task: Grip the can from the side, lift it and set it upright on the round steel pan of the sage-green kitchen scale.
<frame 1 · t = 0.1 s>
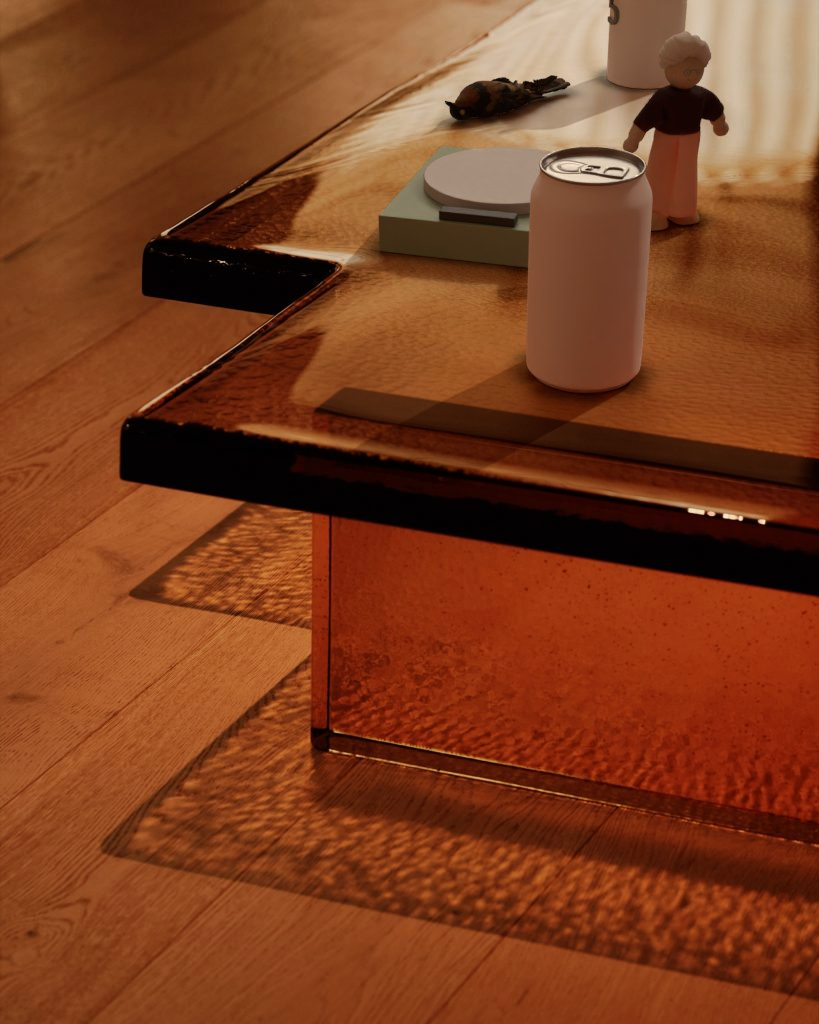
scale: (502, 222, 109), on the table
grandmother figurine: (672, 222, 109), on the table
can: (582, 372, 90), on the table
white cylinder: (642, 79, 137), on the table
bird model: (507, 110, 130), on the table
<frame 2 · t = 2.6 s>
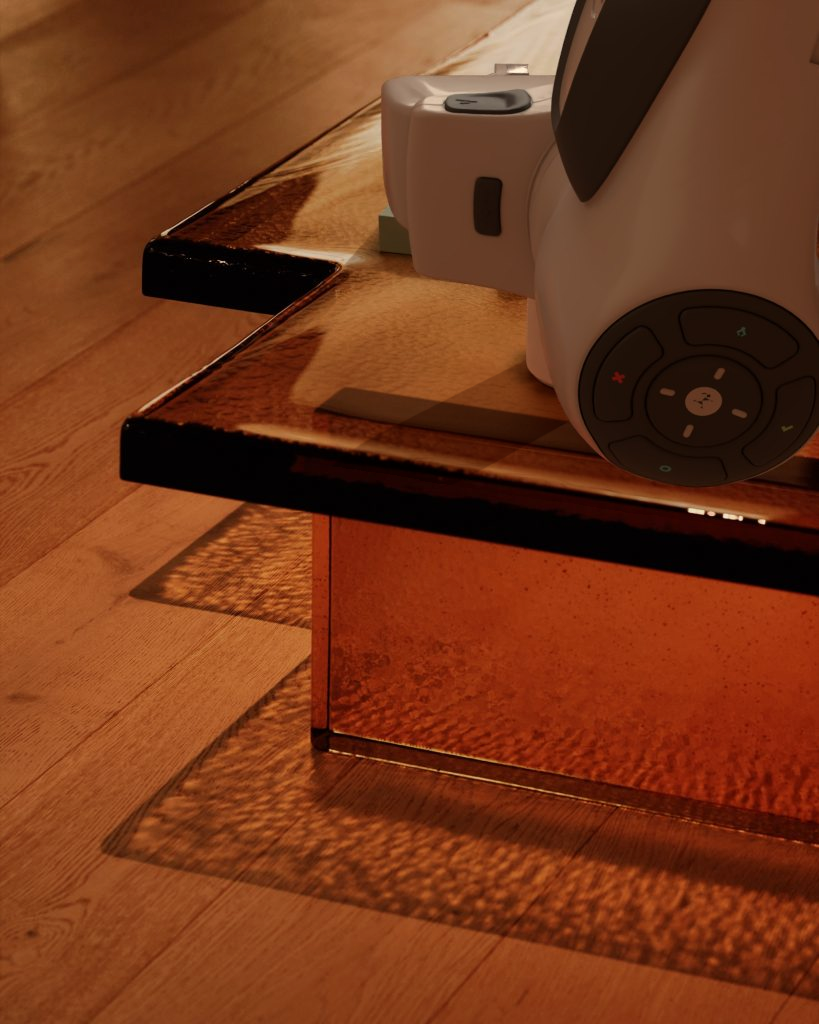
hand: (619, 81, 69), 20 cm above the table, tool horizontal, fingers open, 8 cm apart
nothing on the table moved.
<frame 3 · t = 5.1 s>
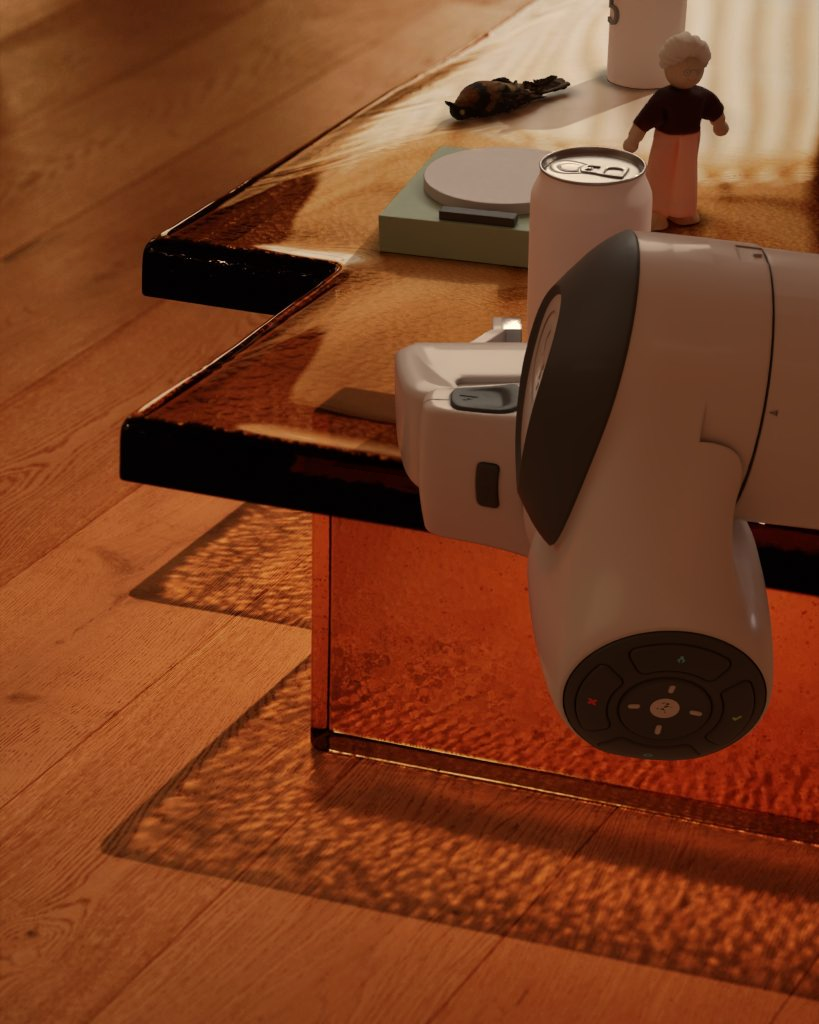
hand: (601, 329, 80), 6 cm above the table, tool horizontal, fingers open, 8 cm apart
nothing on the table moved.
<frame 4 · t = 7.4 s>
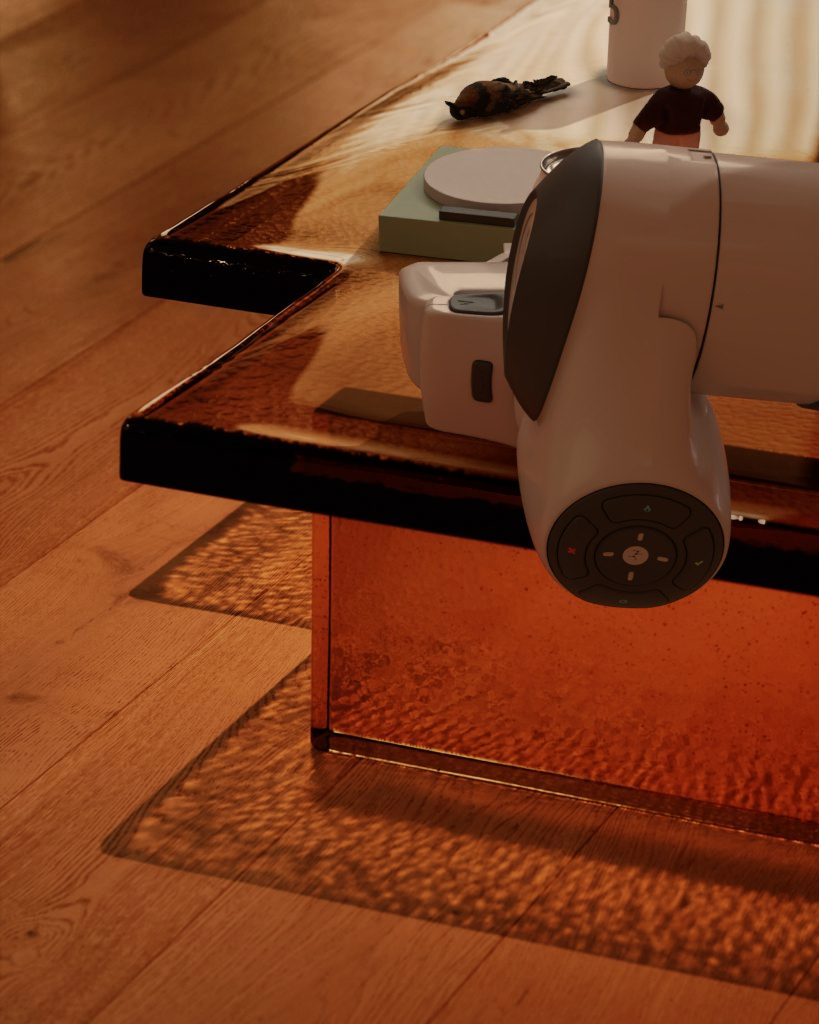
hand: (586, 255, 88), 7 cm above the table, tool horizontal, fingers closed on can, 6 cm apart
can: (582, 372, 90), on the table, touching gripper
everything else where it was.
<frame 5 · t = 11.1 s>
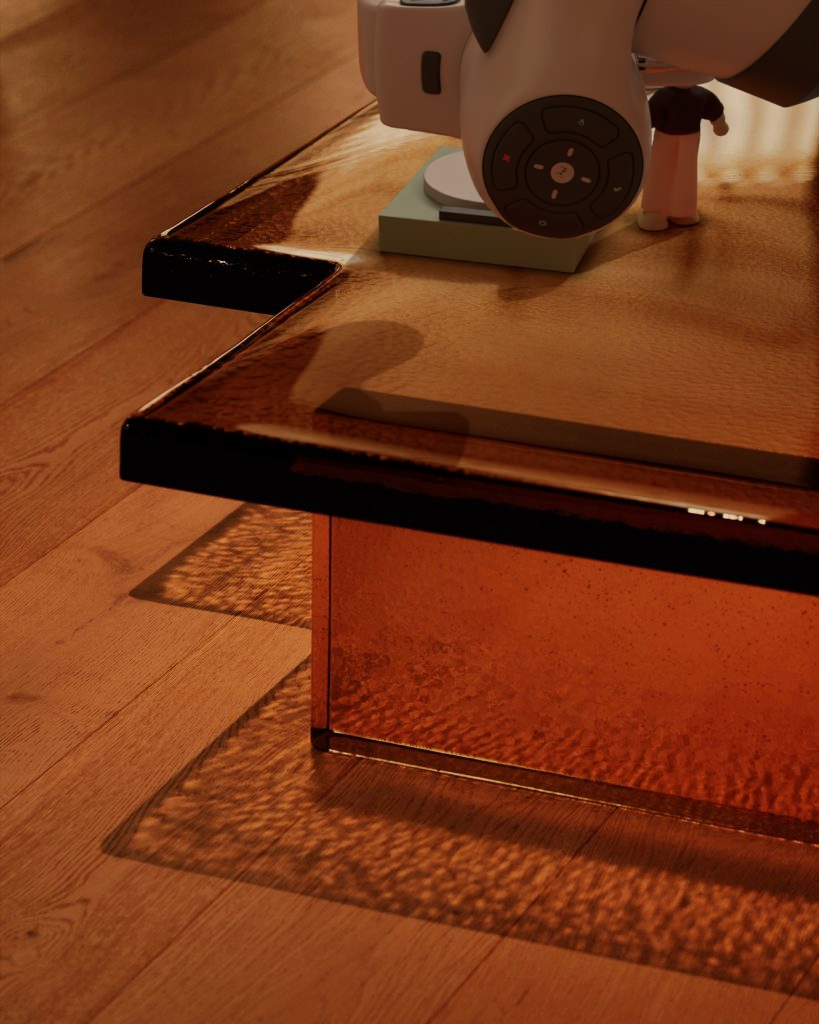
can: (532, 114, 97), point 10 cm above the table, touching gripper
everything else where it was.
when the fingers open (10 cm above the table, at t = 14.8 s): can stays where it is, resting on scale.
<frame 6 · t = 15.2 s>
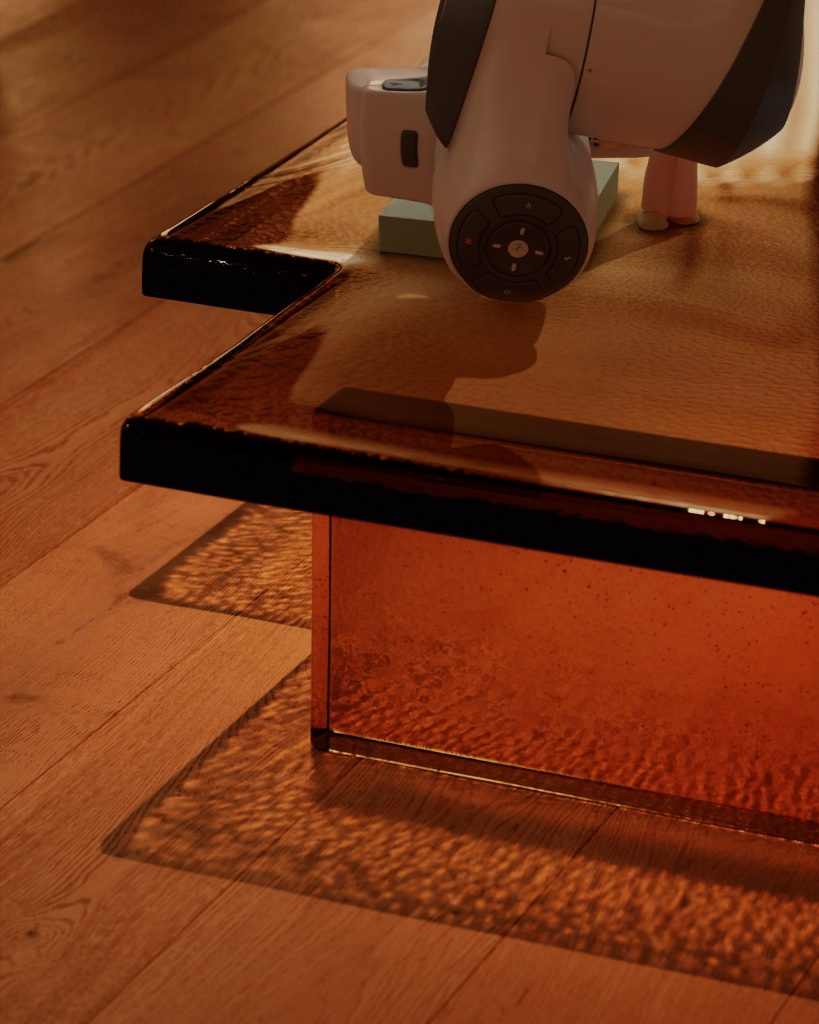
hand: (506, 71, 104), 10 cm above the table, tool horizontal, fingers open, 8 cm apart
can: (502, 179, 107), point 3 cm above the table, touching scale
everything else where it was.
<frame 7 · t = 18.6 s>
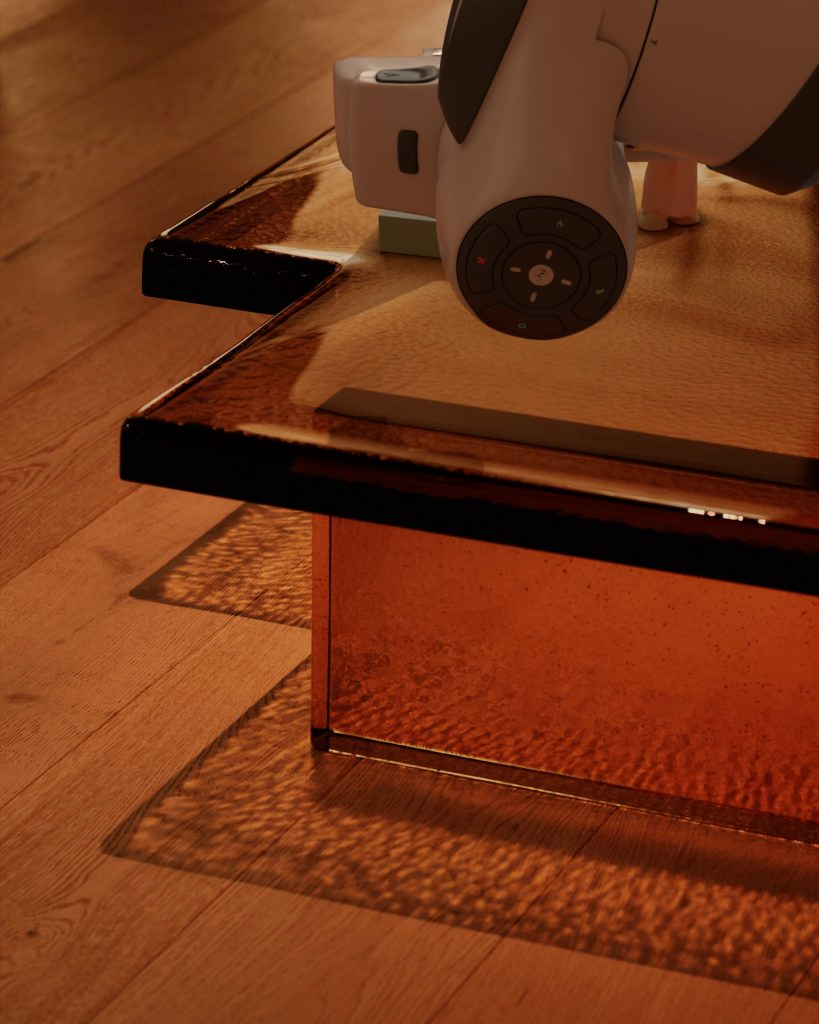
hand: (520, 60, 90), 15 cm above the table, tool horizontal, fingers open, 8 cm apart
nothing on the table moved.
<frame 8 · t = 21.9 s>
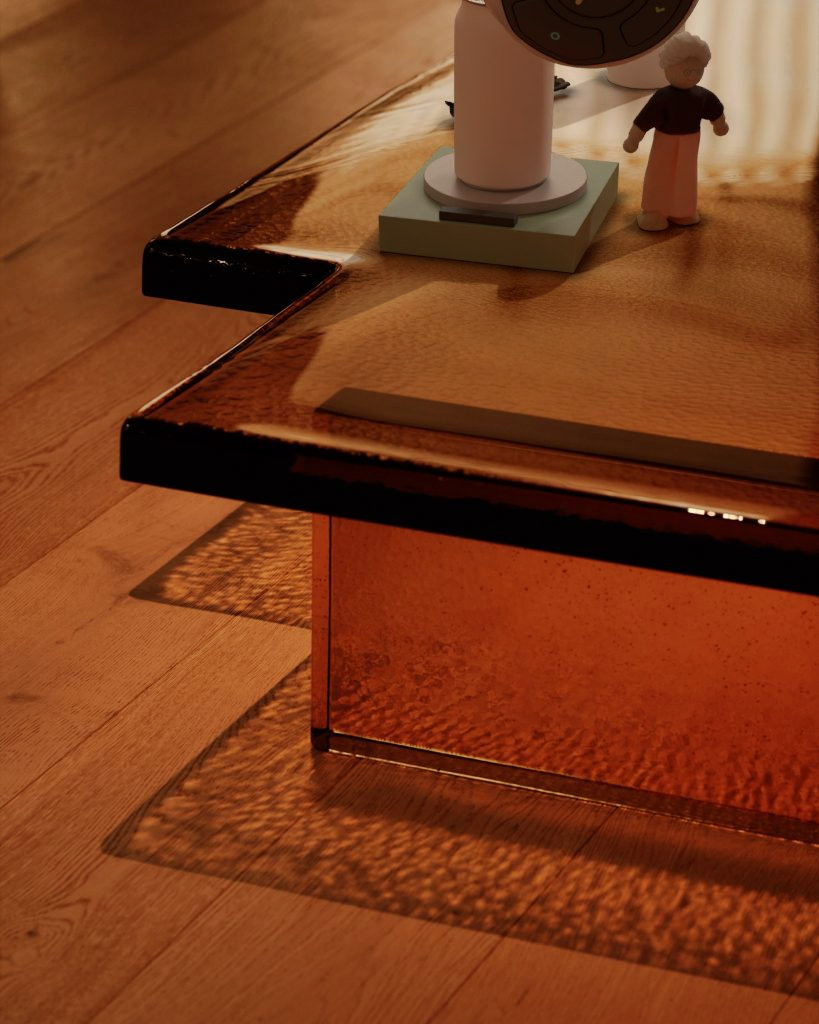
nothing on the table moved.
at the end: can inside the target area on the scale (0.6 cm from its centre), point 3.1 cm above the scale's base; can tilted 0°; the gripper is holding nothing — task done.
